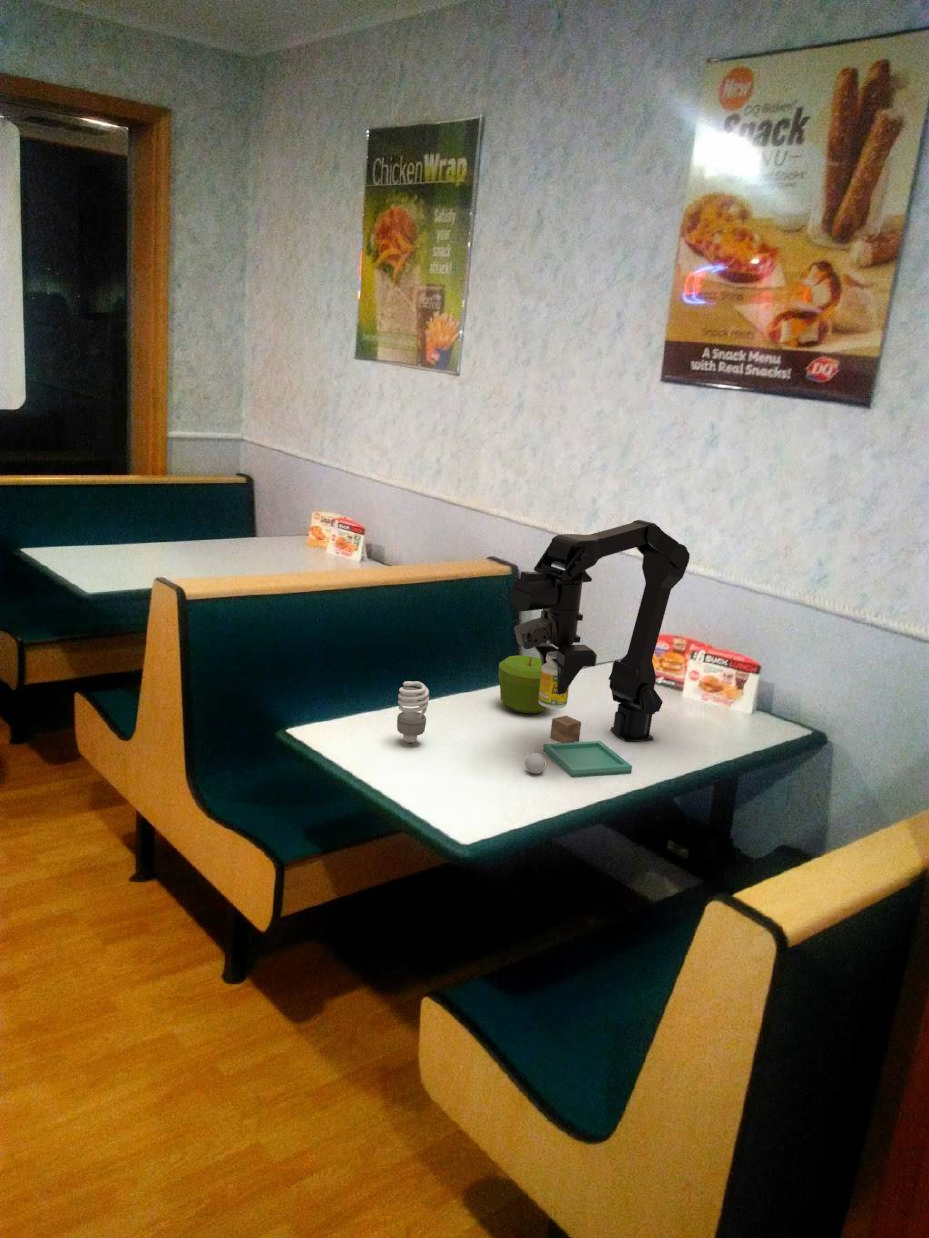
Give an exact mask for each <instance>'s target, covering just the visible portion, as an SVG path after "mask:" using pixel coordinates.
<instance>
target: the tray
mask: <svg viewBox="0 0 929 1238" xmlns="http://www.w3.org/2000/svg"><path fill="white" fill-rule="evenodd" d="M542 747H543V748H542V751H543V753H544V754H545V755H547V756H548V757H549V758H550V759H551V760H552V761H553V762H555V764H556V765H558V766H559V768H561V769H562V770H563V771H564V772H565V773H566V774H568V775H569V776H570V777H571V778H583V777H585V778H586V777H597V776H610V775H613V776H614V775H627V774H632V769H633V765H632V764H630V763H629V762H628V761H626V760H625V759H624V758H623V757H622V756H620V755H619V754H618V753H616V751H614V750H613V749H611V748H610V747H609V746H607V745H606V744H605V743H604V742H603V741H601V740H593V741H591V740H589V741H577V742H570V743H560V742H557V743H555V742H553V743H543V746H542Z"/></svg>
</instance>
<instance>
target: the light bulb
mask: <svg viewBox="0 0 929 1238" xmlns="http://www.w3.org/2000/svg"><path fill="white" fill-rule="evenodd" d="M402 685H403V686H402V687H400V688H399V690H398V691H399V693H398V695H397V697H398V700H397V704H398V705H399V706H398V709H399V711H401V712H400V713H398V715H397V719H396V729H397V731H398V732H399V733H400V735H403V737H402V738H403V740H404V741H405V742H406V743H407V744H412V743H415V742H416V741H417V739H418V736H420V735H421V736H422V734H424V733H425V730H426V725H427V717H426V716H425V713H426V712H427V709H428V708H427V707H428V705H429V700H430V690H429V688H428V687H427V686H426V685H425V684H424V683H422V682H421V681H417V680H416V681H409V680H408V681H404V682H403V683H402ZM410 707H411V708H410Z"/></svg>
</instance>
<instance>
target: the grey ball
mask: <svg viewBox="0 0 929 1238" xmlns="http://www.w3.org/2000/svg"><path fill="white" fill-rule="evenodd" d="M524 760H525V761H524V767H525V769H526V770H527V772H529V773H531V774H539V773H541V772H543V771H544V770H545V767H546V760H545V758H544V755H542V754H540V753H539V752H532V753H530V754H528V755H527V756H526V757H525V759H524Z"/></svg>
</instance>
